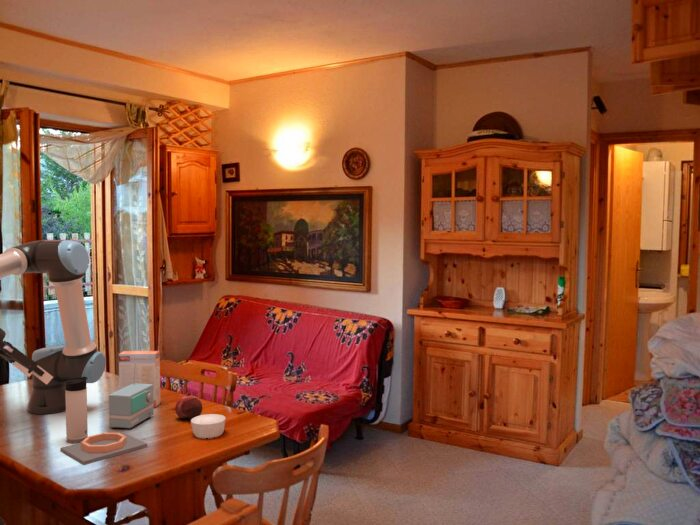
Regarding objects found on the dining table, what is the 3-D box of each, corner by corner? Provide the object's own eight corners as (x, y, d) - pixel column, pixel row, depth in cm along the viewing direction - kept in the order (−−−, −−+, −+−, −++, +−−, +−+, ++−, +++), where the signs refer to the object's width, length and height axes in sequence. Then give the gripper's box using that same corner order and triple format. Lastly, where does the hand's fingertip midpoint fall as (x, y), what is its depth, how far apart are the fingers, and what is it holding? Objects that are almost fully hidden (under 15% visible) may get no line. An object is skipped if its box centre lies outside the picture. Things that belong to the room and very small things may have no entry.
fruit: (199, 422, 218) (199, 394, 217) (172, 422, 218) (172, 394, 217) (205, 414, 227) (205, 387, 226) (179, 414, 227) (179, 387, 226)
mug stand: (60, 451, 190) (60, 441, 189) (122, 434, 204) (121, 425, 204) (83, 464, 179) (83, 454, 179) (147, 446, 194) (147, 437, 193)
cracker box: (161, 403, 240) (160, 350, 239) (155, 408, 234) (155, 353, 233) (125, 403, 240) (124, 349, 239) (119, 407, 234) (118, 353, 233)
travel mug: (92, 439, 200) (91, 378, 199) (71, 444, 195) (70, 382, 194) (83, 435, 204) (82, 375, 203) (63, 440, 199) (61, 378, 198)
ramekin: (185, 433, 206) (185, 418, 206) (215, 426, 214) (215, 411, 213) (200, 442, 198) (200, 426, 198) (231, 435, 205) (231, 419, 205)
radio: (133, 431, 208) (132, 372, 207) (108, 429, 210) (107, 371, 209) (156, 416, 224) (156, 362, 223) (134, 415, 226) (133, 361, 225)
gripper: (-39, 339, 185) (16, 380, 196) (-10, 350, 168) (48, 394, 180) (-20, 319, 188) (33, 361, 200) (11, 328, 171) (66, 373, 183)
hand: (40, 377), depth 190 cm, fingers open, 13 cm apart
